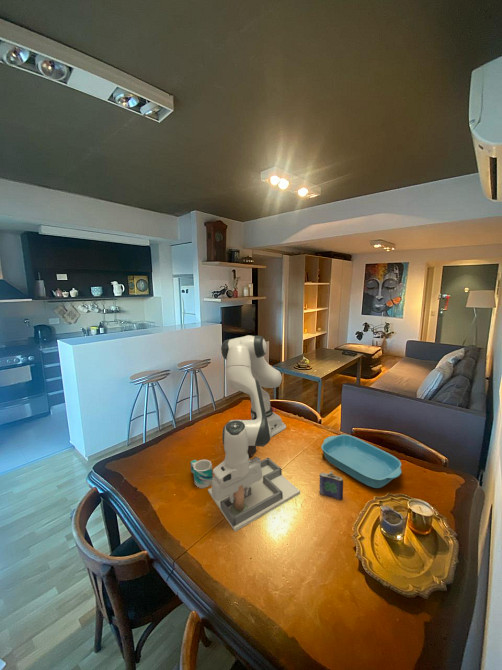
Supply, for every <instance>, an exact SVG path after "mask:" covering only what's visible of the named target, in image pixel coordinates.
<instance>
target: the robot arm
mask: <svg viewBox="0 0 502 670" xmlns="http://www.w3.org/2000/svg"><path fill="white" fill-rule="evenodd" d="M267 348H268V346H267V342H266V339H265V337H263V336H261V335H249V334H248V335H245V336H240V337H235V338H228V339H226V340H223V342H222V343H221V347H220V351H221V355H222V358H223V359H224V360H225V379H226V382H227V384H228V385H229V386H230V387H231V388H233V389H234V390H236V391H239V392H241V393H245V394H246V395H249V397H250V405H251V406H250V407H251V408H250V416H251V417H250V418H251V419H232V420H229V421H228V422H227V423H226V424H224V426H223V427H222V431H221V432H222V436H221V437H222V444H223V449H224V453H225V456H224V459H223V460H222V461H221V463H219V464H218V465H216V466H215V467H214V468H212V473H213V479H212V484H211V488H212V495H213V497H214V498H215V499H216V500H217V501H219V500H221V499H223V498H225V497H227V496H229V497H230V502H231V503H233V502H235V497H234V496H233V495H232V494H233V493H235V492H237V491H238V490H239V488H238V487H240V486H242V485H243V488H244V497H245V496H247V495H248V490H249V488H250V485H251V484H253V483H255V482H257V481H259V480H261V478H262V469H261V461H262V459H261V457H257V456H255V457H253V458H250V459H249V455H248V452H247V451H248V446H256V447H259V448H260V447H262V448H263V447H265V446H267V445H268V444H269V443H270V441H271V438H272V437H274V436H276V435H277V434H279V433H281V432H282V431H284V430H286V429H287V425H286V423H285V422H283V420H282V417H281V416H280V415H279V414H277V413H275V412H276V411H277V409H276V408H275V407H272V405H271V396H270V394H269V393H268V391H266V390H264V389H263V388H266V389H267V388H268V389H274V388H278V387H279V386H280V385H281V384H282V381H283V376H282V374H281V371H279V370H278V369H276V368H275V367H273V366H272V365H270V364H269V363H268V361H266V359H265V355H266V354H267ZM254 416H257V418H256V419H255V420H253V418H254Z"/></svg>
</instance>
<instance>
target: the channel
mask: <svg viewBox="0 0 502 670" xmlns="http://www.w3.org/2000/svg"><path fill="white" fill-rule="evenodd" d="M261 469H262V478H261V480H259V481H257V482H255V483H253V484H251V485H250V488H249V490H248V495H247V496H245V497H244V503H245V504H246V505H247V506H248V509H246V510H245V511H243V512H241V513H239V514H237V515H236V516H233V514H232V513H231V511H230V509H231V507H232V506H233V505H234V502H233V503H231V502H230V497H229V496H227V497H225V498H223V499H221V500H219V501H217V500H216V499H215V498H214V497H213V495H212V487H211V488H208V489H207V492H208V494H209V495H210V497H211V498H212V500H213V501H214V503H215V504H216V506H217V508H218V509H219V511H220V512H221V514H222V515H223V516H224V518H225V519H226V521H227V522H228V523H229V525H230V526H231V528H232V530H233V531H234V532H237V531H239V530H241V529H242V528H244V527H245V526H248V525H250V524H251V523H253V522H254V521H256V520H258V519H259V518H261V517H263V516H265V515H266V514H268V513H270V512H271V511H273V510H274V509H276V508H278V507H281V506H282V505H283V504H285V503H286V502H289V501H291V500H292V499H293V498H295V497H297V496H298V495H300V494H301V491H300V489H298V487H296V486H295V485H294V484H293V483H292V482H291V481H290V480H288V479H287V478H286V477H285V476H284V475H283V473H282V472H283V470H282V468H281V467H280V466H279V465H278V464H277V463H276V462H274V461H273V460H272V459H271V458H269V457H267V458H265V459H261ZM232 495H233V494H232ZM233 496H234V495H233Z"/></svg>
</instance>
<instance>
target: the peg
mask: <svg viewBox="0 0 502 670" xmlns="http://www.w3.org/2000/svg"><path fill="white" fill-rule="evenodd" d="M238 488H239V490H238V491H237V492H235V493H233V495H234V497H235V502H234V509H235V510H237V511H241V510H243V509H244V507H245V503H244V488H243V485H242V486H240V487H238Z"/></svg>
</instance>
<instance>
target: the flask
mask: <svg viewBox="0 0 502 670" xmlns="http://www.w3.org/2000/svg"><path fill="white" fill-rule="evenodd" d="M318 492H319V495H320V496H322V497H327V498H329V499H330V498H332V499H335V500H337V501H343V498H344V479H343V478H342V477H341V476H339V475H335V474H334V471H333V470H330V471H329V472H328V473H326V472H321V473H319V491H318Z"/></svg>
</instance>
